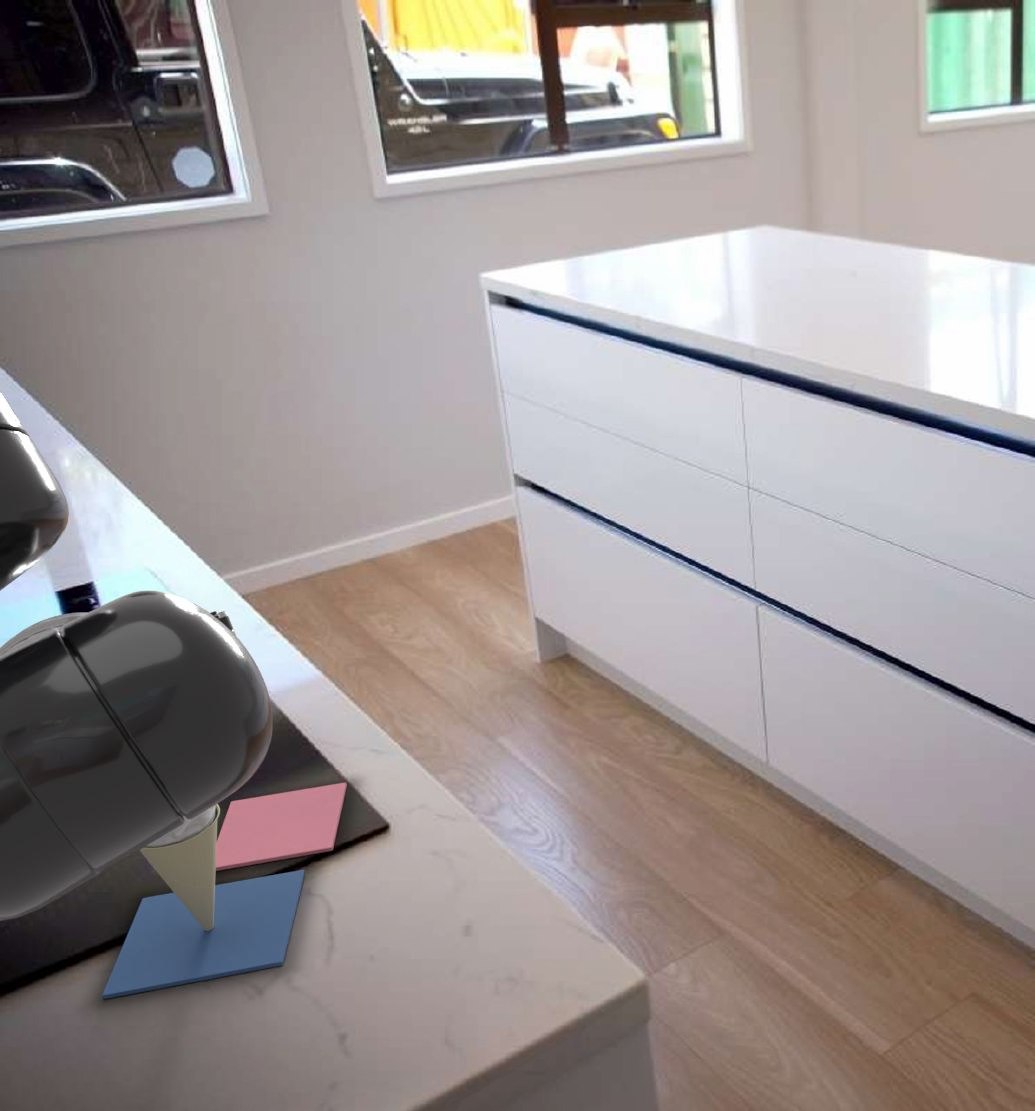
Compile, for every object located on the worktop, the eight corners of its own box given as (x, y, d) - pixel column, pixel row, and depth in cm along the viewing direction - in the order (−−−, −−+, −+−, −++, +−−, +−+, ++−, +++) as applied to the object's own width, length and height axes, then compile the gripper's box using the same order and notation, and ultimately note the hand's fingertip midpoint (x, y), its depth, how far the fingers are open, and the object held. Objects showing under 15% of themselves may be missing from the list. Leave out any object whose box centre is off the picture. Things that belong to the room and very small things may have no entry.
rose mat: (207, 872, 84) (206, 869, 84) (231, 804, 92) (231, 801, 91) (332, 850, 86) (331, 847, 86) (347, 785, 93) (346, 782, 93)
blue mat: (103, 999, 74) (101, 995, 74) (143, 901, 82) (142, 898, 82) (282, 965, 76) (281, 961, 76) (305, 873, 84) (304, 869, 84)
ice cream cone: (185, 969, 76) (112, 758, 69) (151, 932, 79) (79, 727, 73) (266, 924, 79) (204, 719, 73) (231, 891, 82) (168, 691, 76)
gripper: (226, 560, 55) (197, 565, 69) (-161, 688, 48) (-106, 665, 62) (290, 719, 56) (249, 692, 70) (-79, 865, 49) (-44, 804, 63)
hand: (82, 679), depth 66 cm, fingers open, 8 cm apart
